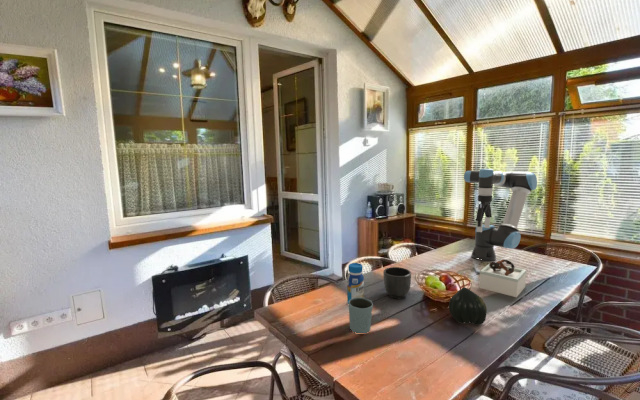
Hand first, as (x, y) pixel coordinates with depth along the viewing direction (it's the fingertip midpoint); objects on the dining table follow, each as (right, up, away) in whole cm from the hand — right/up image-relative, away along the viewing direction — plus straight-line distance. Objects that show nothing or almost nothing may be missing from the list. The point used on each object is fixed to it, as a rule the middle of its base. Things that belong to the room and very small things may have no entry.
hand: (483, 229), depth 193 cm
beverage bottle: (-81, -34, -35) cm, 94 cm away
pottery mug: (0, -22, -19) cm, 29 cm away
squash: (-34, -35, -53) cm, 72 cm away
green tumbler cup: (-81, -37, -58) cm, 107 cm away
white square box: (+1, -30, -19) cm, 35 cm away
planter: (-59, -32, -26) cm, 72 cm away
